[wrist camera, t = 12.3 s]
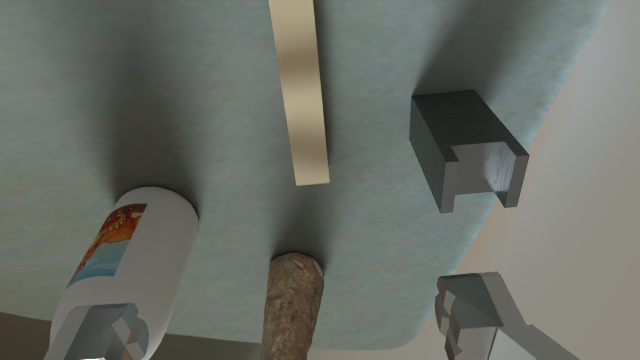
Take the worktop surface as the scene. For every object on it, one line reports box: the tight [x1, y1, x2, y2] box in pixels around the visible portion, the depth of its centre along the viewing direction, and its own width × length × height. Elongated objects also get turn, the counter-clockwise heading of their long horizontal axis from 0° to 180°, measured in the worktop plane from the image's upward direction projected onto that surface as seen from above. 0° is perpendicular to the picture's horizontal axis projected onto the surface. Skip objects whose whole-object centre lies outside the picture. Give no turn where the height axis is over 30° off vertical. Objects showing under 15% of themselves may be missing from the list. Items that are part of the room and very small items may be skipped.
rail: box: [269, 0, 330, 186], centre depth 29 cm, size 22×3×3 cm, turn 5°
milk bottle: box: [50, 187, 199, 360], centre depth 31 cm, size 8×8×20 cm
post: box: [409, 90, 529, 213], centre depth 30 cm, size 4×5×10 cm
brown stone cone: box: [260, 252, 324, 360], centre depth 37 cm, size 6×18×6 cm
